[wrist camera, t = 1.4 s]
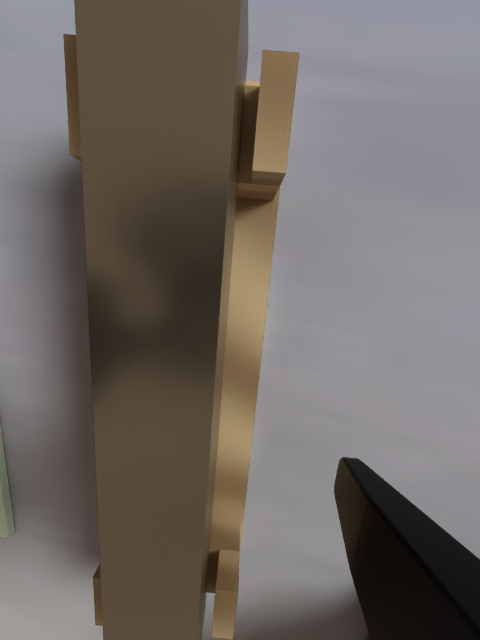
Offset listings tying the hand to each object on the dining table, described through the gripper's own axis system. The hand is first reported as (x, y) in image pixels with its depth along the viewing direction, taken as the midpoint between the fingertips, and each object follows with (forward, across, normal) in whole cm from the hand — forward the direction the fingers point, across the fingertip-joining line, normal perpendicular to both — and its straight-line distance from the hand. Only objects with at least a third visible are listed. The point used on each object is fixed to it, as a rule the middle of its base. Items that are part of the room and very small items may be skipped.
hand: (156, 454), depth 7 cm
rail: (+3, 0, 0) cm, 3 cm away
